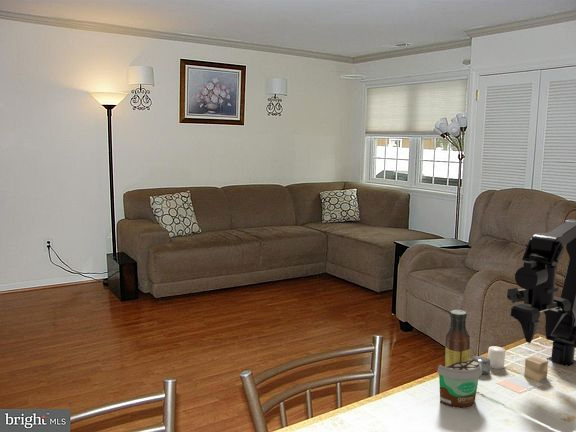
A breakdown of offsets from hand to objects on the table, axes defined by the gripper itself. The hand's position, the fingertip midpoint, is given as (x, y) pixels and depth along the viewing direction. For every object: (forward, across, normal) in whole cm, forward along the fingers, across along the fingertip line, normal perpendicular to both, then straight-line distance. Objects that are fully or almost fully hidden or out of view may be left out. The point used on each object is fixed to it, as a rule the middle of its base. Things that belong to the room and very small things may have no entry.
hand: (538, 339), depth 141 cm
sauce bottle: (+12, +21, -10) cm, 25 cm away
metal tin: (+12, +10, -10) cm, 18 cm away
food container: (+12, +28, -2) cm, 30 cm away
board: (+11, +5, 0) cm, 12 cm away
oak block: (+11, 0, 0) cm, 11 cm away
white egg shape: (+12, +3, -10) cm, 16 cm away
